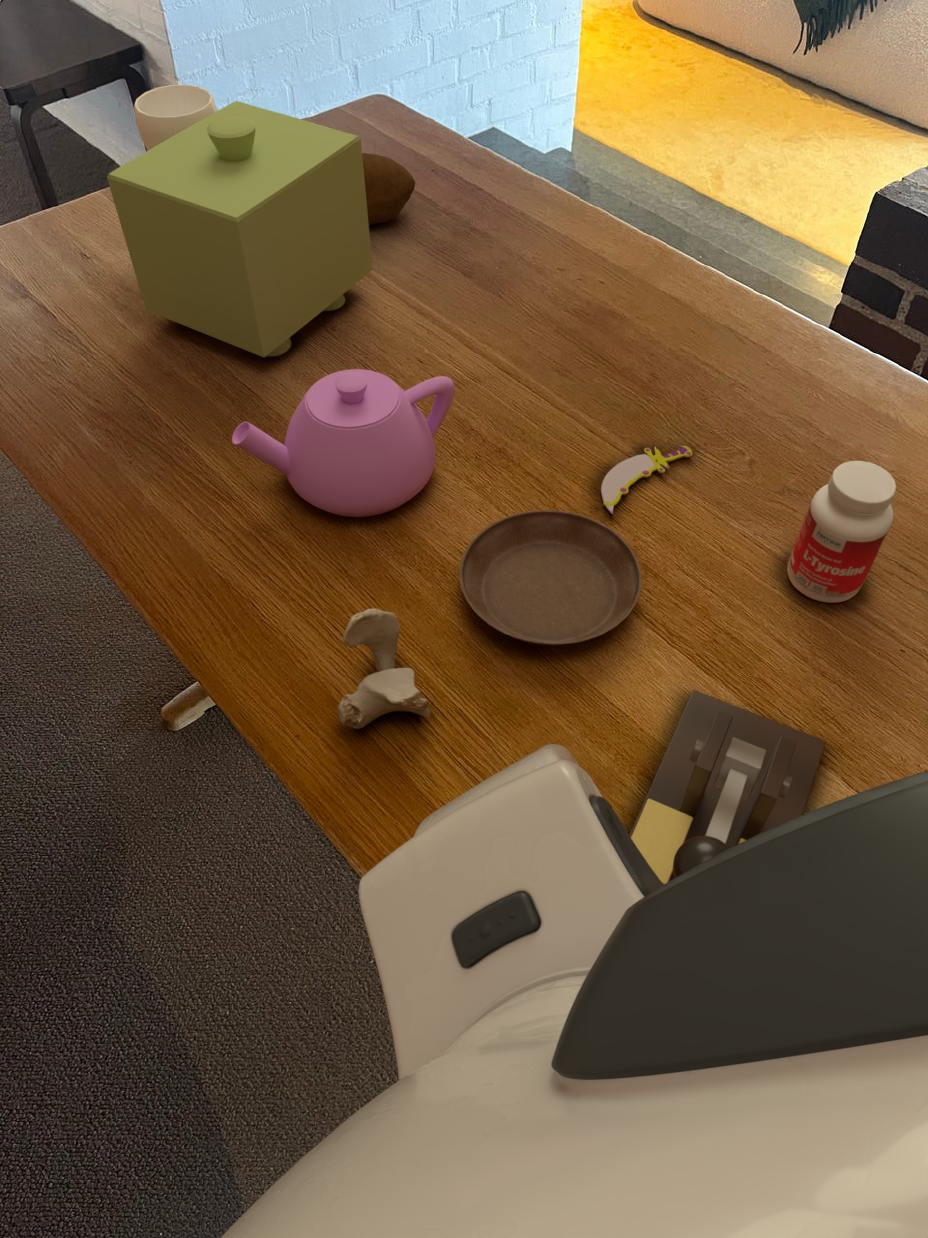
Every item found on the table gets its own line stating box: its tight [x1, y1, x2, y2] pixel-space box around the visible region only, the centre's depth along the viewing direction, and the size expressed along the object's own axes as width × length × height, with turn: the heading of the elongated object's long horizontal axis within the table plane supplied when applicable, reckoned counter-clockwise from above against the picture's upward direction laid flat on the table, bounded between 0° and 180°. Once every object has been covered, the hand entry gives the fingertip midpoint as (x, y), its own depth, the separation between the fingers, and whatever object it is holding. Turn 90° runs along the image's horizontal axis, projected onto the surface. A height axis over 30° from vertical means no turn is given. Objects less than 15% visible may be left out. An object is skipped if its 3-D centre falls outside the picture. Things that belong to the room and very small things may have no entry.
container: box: [106, 100, 373, 358], centre depth 99 cm, size 19×16×20 cm
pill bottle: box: [786, 460, 897, 604], centre depth 76 cm, size 6×6×11 cm
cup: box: [133, 84, 218, 151], centre depth 110 cm, size 9×9×16 cm
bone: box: [337, 608, 431, 730], centre depth 70 cm, size 9×6×10 cm
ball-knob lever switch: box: [673, 737, 766, 878], centre depth 54 cm, size 15×3×3 cm, turn 153°
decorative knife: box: [600, 445, 693, 515], centre depth 89 cm, size 12×1×5 cm
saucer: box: [458, 509, 643, 647], centre depth 79 cm, size 15×15×3 cm
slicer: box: [628, 689, 827, 881], centre depth 62 cm, size 20×10×11 cm, turn 153°
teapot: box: [231, 368, 455, 518], centre depth 85 cm, size 14×20×11 cm
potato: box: [362, 152, 416, 226], centre depth 116 cm, size 8×12×8 cm, turn 114°
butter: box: [631, 799, 746, 885], centre depth 60 cm, size 9×5×5 cm, turn 63°
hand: (695, 1025), depth 34 cm, fingers open, 8 cm apart
